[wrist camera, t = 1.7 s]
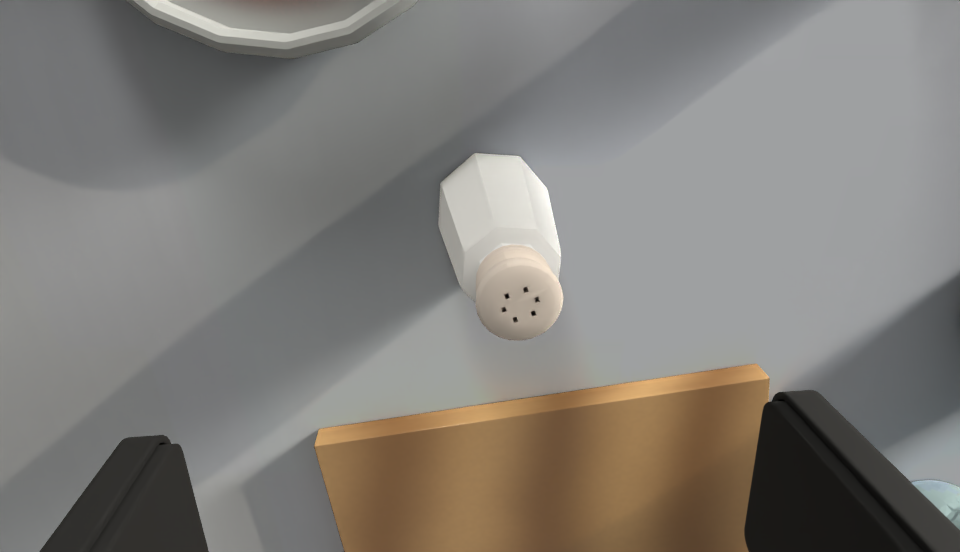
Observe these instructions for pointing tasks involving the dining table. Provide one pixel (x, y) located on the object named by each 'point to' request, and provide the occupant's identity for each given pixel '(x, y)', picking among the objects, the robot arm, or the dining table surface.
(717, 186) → the dining table surface
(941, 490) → the grey cylindrical pot
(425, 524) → the cutting board
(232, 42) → the frying pan
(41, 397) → the dining table surface
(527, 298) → the pepper shaker
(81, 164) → the dining table surface
